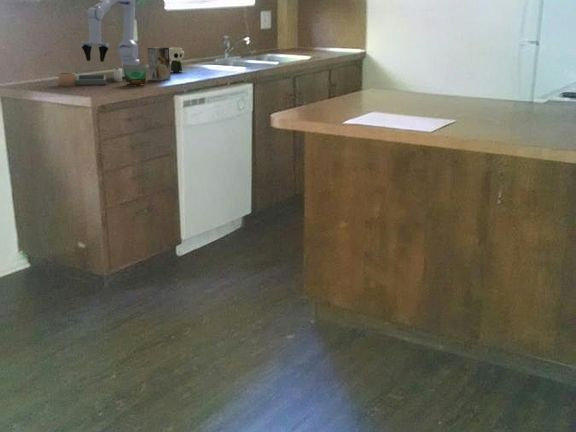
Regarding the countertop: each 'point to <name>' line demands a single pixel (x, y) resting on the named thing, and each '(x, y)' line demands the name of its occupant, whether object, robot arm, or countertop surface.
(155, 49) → the coffee box
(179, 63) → the big headed figurine
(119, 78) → the cell
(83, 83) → the tray
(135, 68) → the food container
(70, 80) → the pot
